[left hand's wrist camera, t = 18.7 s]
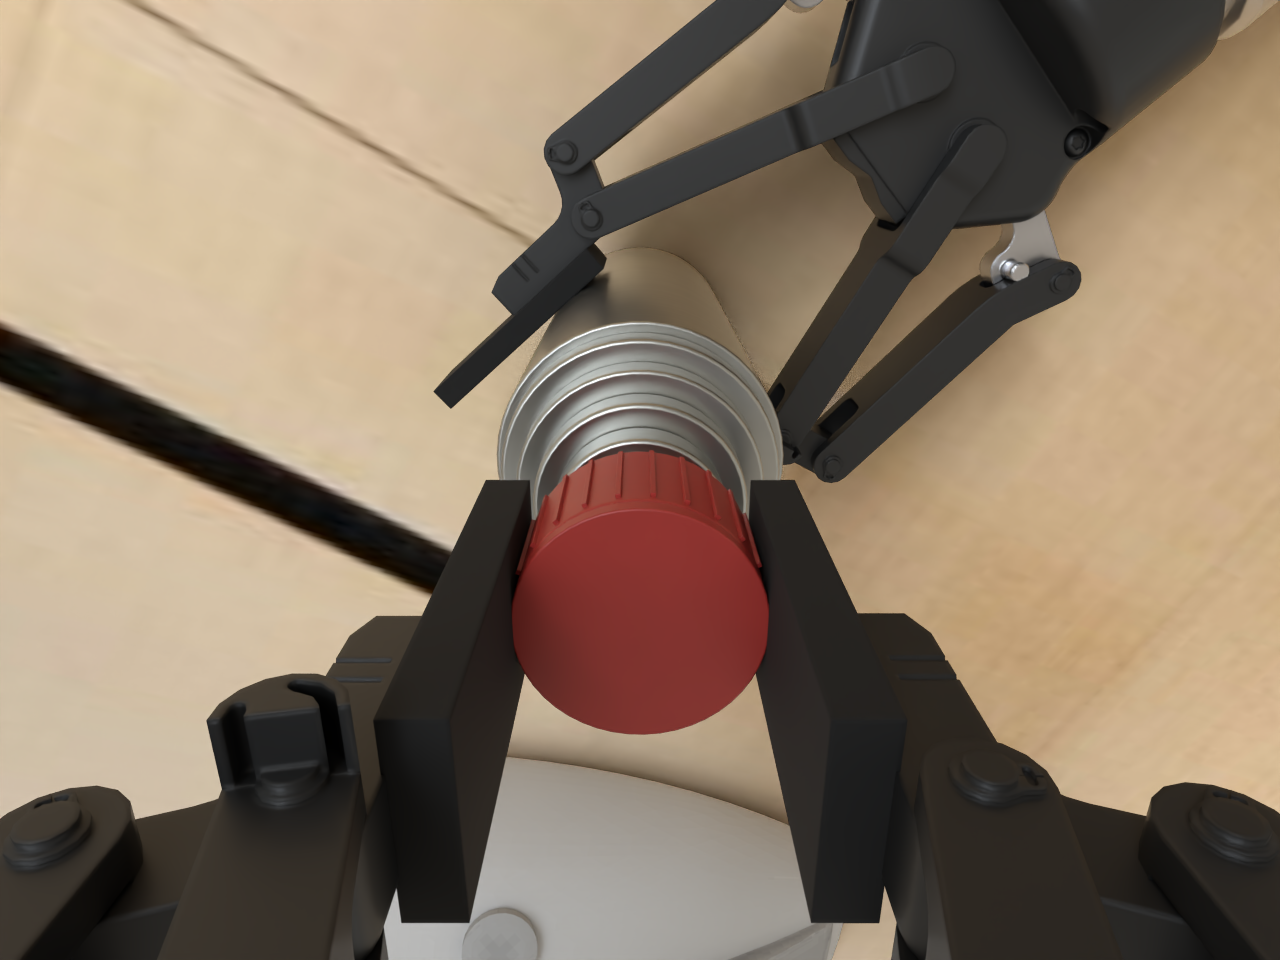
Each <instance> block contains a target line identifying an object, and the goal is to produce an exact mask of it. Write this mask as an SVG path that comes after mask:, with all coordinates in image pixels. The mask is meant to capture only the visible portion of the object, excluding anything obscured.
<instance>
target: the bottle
mask: <svg viewBox="0 0 1280 960" xmlns="http://www.w3.org/2000/svg"><path fill="white" fill-rule="evenodd" d="M605 256H606V257H607V260H606V263H605V267H604V269H603V270H602V271H601V272H600V273H599V274H598V275H596V276H595V277H594V278H593V279H592V280H591V281H590V282H589V283H588V284H587V285H586V286H584V287H583V288H582V289H581V290H580V291H579V292H578V293H577V294H576V295H575V296H574V297H572V298H571V299H570V300H569V301H568V302H567V303H566V304H565V305H564V306H563V307H562V308H560V309H559V310H558V311H557V312H556V313H555V315H554V317H553V319H552V321H551V323H550V324H549V326H548V328H547V330H546V332H545V334H544V336H543V338H542V340H541V341H540V343H539V345H538V347H537V349H536V351H535V353H534V355H533V357H532V358H531V360H530V362H529V364H528V366H527V368H526V370H525V372H524V374H523V376H522V377H521V379H520V381H519V383H518V385H517V387H516V389H515V391H514V393H513V394H512V396H511V398H510V400H509V402H508V405H507V407H506V410H505V413H504V415H503V418H502V422H501V426H500V431H499V435H498V446H497V465H498V475H499V480H530V491H531V510H532V519H533V520H535V519H536V517H537V515H538V513H539V510H540V508H541V504H542V501H543V498H544V496H545V495H547V496H549V494H550V493H551V492H552V491H553V490H554V488H555V487H556V486H557V485H558V484H559V483H560V482H561V481H562V479H563V476H565V475H566V474H567V475H570V474H571V473H573V472H574V471H576V470H577V469H579V468H580V467H582V466H584V465H586V464H588V461H589V460H592V459H593V460H594V461H595V460H597V459H600V458H603V457H606V456H610V455H614V454H618V452H620V451H623V453H627V452H649V450H653V451H654V453H661V454H667V455H670V456H674V457H677V458H679V457H680V456H681V457H684V458H685V461H688V462H690V463H693V464H695V465H696V466H698V467H700V468H701V469H703V470H705V471H707V470H709V471H711V473H712V476H713V477H714V478H716V479H717V480H718V481H719V482H720V483H721V484H722V485H723V486H724V487H725V488H726V489H727V490H729V489H731V491H732V492H733V495H734V499H735V501H736V502H737V504H738V506H739V508H740V510H741V512H742V513H746V514H747V517H748V520H749V502H750V482H751V480H781V476H782V468H783V443H782V435H781V430H780V425H779V421H778V418H777V415H776V412H775V409H774V407H773V404H772V402H771V400H770V398H769V396H768V394H767V392H766V390H765V389H764V387H763V385H762V383H761V381H760V379H759V377H758V375H757V373H756V372H755V370H754V368H753V366H752V364H751V362H750V360H749V358H748V357H747V355H746V353H745V351H744V349H743V347H742V345H741V343H740V341H739V340H738V338H737V336H736V334H735V332H734V330H733V328H732V326H731V324H730V323H729V321H728V319H727V317H726V315H725V313H724V311H723V309H722V307H721V306H720V304H719V302H718V300H717V298H716V296H715V294H714V292H713V291H712V289H711V287H710V285H709V284H708V283H707V281H706V280H705V278H704V277H703V276H702V275H701V274H700V273H699V272H698V271H697V270H696V269H695V268H694V267H693V266H691V265H690V264H689V263H688V262H686V261H684V260H683V259H681V258H680V257H678V256H676V255H673V254H671V253H669V252H665V251H662V250H658V249H653V248H627V249H622V250H618V251H614V252H611V253H609V254H607V255H605Z"/></svg>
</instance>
